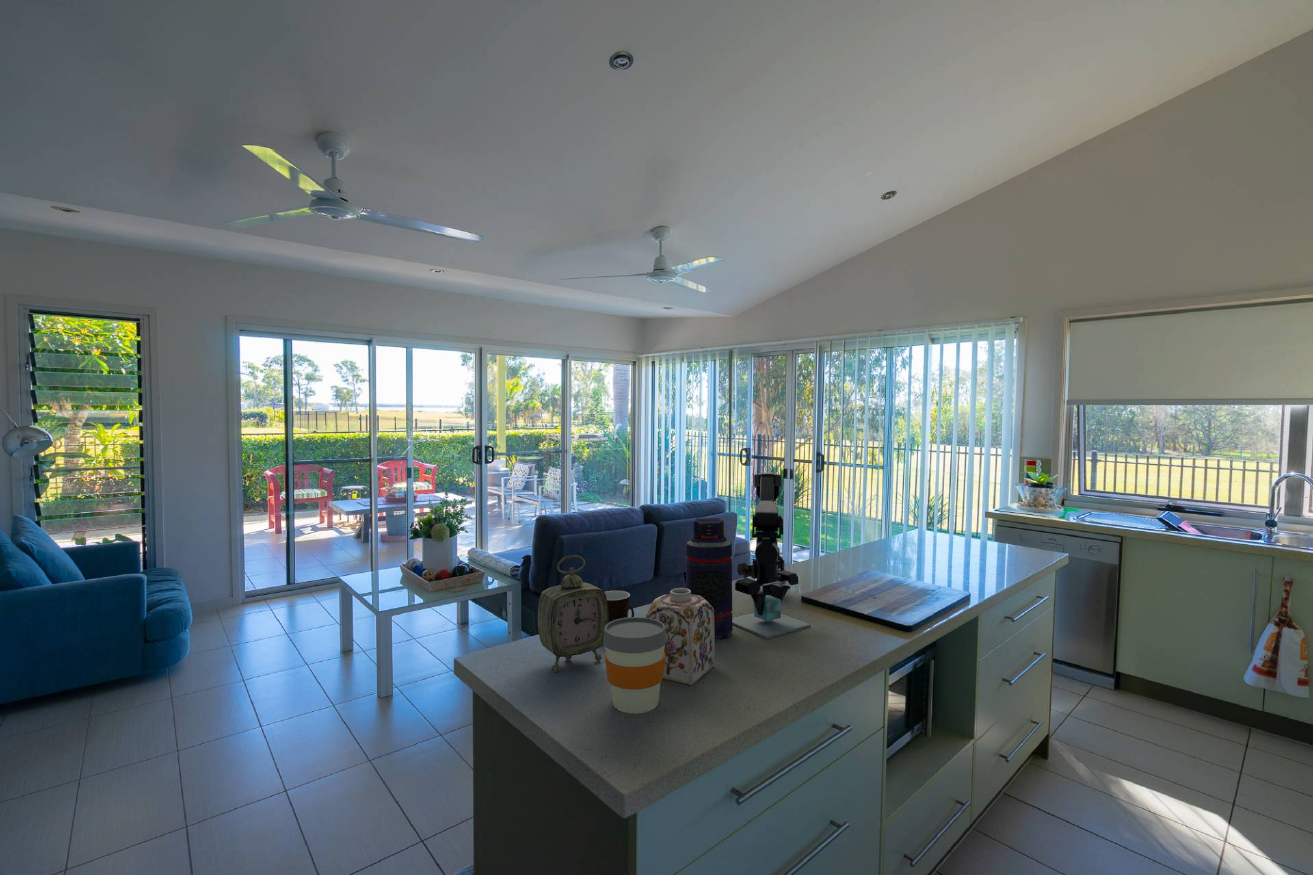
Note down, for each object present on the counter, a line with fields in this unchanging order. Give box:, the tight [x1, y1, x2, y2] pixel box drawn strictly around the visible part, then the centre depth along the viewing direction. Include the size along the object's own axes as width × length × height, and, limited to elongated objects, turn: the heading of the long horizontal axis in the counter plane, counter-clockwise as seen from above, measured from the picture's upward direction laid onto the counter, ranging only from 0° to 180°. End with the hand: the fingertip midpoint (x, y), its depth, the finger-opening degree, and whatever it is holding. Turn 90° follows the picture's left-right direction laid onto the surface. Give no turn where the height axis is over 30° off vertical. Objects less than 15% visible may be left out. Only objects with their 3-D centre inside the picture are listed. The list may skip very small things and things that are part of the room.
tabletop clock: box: [537, 554, 609, 673], centre depth 135 cm, size 14×9×25 cm, turn 123°
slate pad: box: [732, 612, 811, 640], centre depth 160 cm, size 16×16×1 cm
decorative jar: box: [645, 587, 716, 686], centre depth 130 cm, size 12×12×18 cm
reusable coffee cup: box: [603, 616, 667, 714], centre depth 115 cm, size 13×13×15 cm
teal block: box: [753, 595, 782, 621], centre depth 160 cm, size 5×5×5 cm
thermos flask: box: [685, 517, 734, 641], centre depth 153 cm, size 14×12×30 cm
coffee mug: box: [604, 590, 635, 623], centre depth 153 cm, size 12×9×10 cm
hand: (767, 613), depth 160 cm, fingers closed on teal block, 5 cm apart
